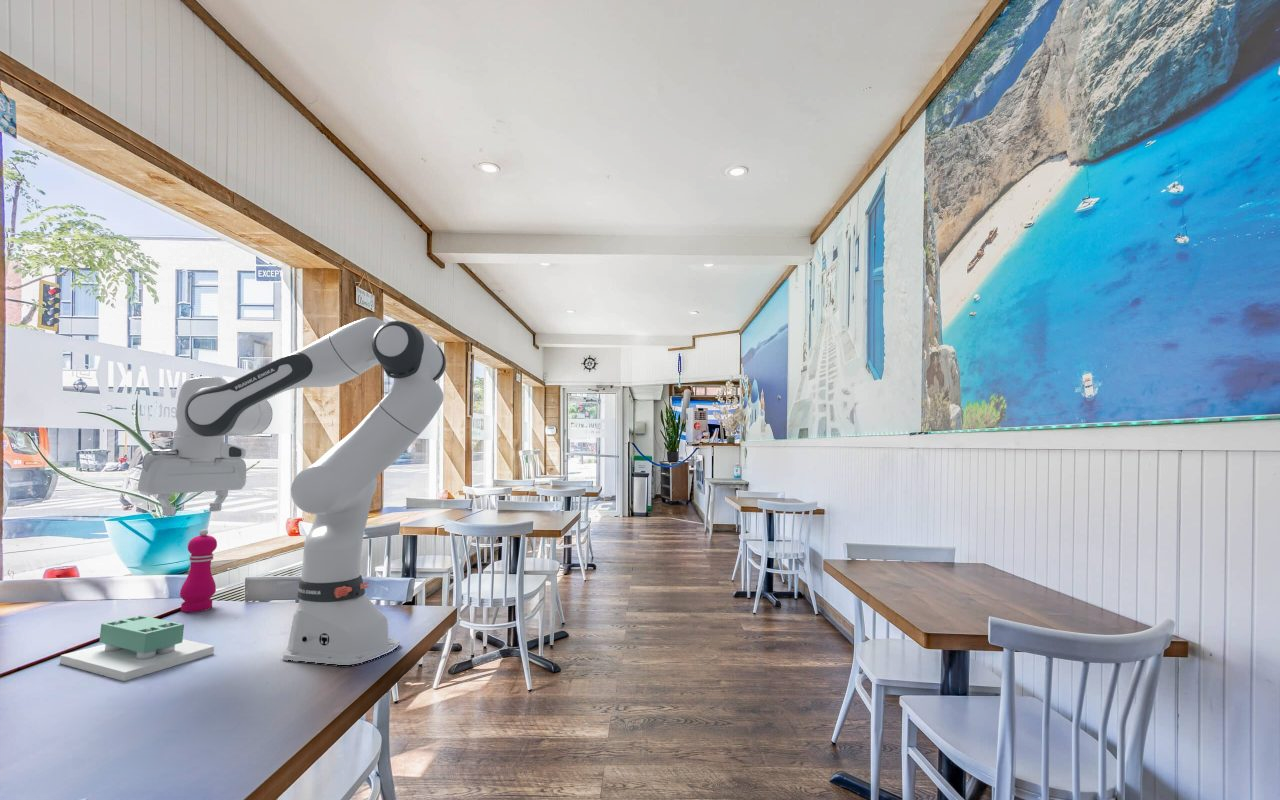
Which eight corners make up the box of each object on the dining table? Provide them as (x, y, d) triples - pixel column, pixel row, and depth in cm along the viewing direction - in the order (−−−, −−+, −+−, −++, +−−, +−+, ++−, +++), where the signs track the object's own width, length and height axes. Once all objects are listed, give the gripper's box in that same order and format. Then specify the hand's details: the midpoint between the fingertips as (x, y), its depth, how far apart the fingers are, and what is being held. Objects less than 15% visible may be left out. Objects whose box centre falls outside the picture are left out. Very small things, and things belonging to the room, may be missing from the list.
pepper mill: (194, 614, 140) (202, 531, 141) (170, 611, 141) (178, 530, 143) (221, 606, 147) (228, 528, 149) (198, 604, 148) (205, 526, 150)
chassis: (213, 653, 114) (216, 618, 114) (123, 681, 100) (128, 641, 100) (151, 639, 121) (154, 606, 122) (59, 663, 107) (64, 626, 108)
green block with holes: (182, 642, 111) (184, 624, 112) (143, 653, 105) (145, 633, 106) (138, 632, 116) (140, 615, 117) (99, 642, 110) (101, 623, 111)
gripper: (154, 449, 114) (147, 519, 113) (252, 450, 133) (248, 509, 132) (134, 449, 116) (127, 517, 115) (234, 449, 136) (229, 508, 134)
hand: (192, 513), depth 124 cm, fingers open, 8 cm apart
